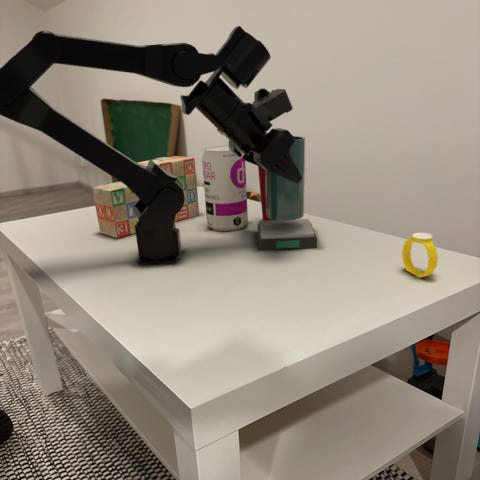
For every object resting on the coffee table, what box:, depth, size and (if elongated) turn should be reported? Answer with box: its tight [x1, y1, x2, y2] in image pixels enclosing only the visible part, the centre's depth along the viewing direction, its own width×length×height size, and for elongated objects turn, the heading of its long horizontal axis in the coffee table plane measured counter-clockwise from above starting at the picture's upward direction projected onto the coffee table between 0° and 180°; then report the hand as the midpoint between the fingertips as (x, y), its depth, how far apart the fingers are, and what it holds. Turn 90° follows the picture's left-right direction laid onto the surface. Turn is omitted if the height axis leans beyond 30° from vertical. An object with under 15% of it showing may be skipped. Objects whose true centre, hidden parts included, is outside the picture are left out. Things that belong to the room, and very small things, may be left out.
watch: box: [401, 232, 439, 279], centre depth 73 cm, size 6×3×6 cm, turn 22°
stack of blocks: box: [92, 155, 200, 239], centre depth 104 cm, size 21×6×12 cm, turn 136°
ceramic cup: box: [265, 135, 306, 221], centre depth 87 cm, size 7×7×13 cm
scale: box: [257, 218, 318, 251], centre depth 92 cm, size 10×10×2 cm
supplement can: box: [201, 145, 249, 232], centre depth 99 cm, size 8×8×15 cm
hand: (292, 177), depth 88 cm, fingers closed on ceramic cup, 7 cm apart
